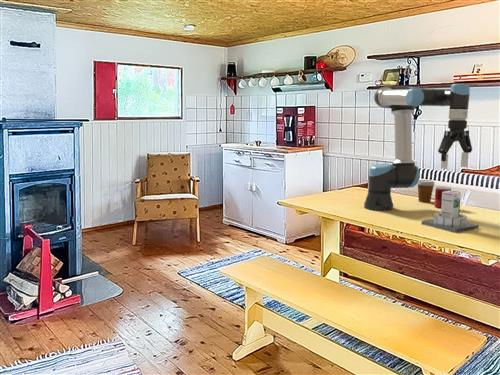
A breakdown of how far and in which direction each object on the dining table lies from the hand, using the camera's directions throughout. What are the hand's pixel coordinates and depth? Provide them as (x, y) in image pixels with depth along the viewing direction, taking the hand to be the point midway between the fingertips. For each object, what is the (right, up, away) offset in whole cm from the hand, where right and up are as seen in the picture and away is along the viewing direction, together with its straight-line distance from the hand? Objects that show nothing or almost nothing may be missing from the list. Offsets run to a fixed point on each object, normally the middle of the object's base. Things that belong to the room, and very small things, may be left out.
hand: (454, 167), depth 212 cm
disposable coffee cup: (+9, -17, +61) cm, 64 cm away
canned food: (+13, -20, +45) cm, 51 cm away
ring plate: (0, -26, +4) cm, 27 cm away
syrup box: (0, -25, +4) cm, 25 cm away
